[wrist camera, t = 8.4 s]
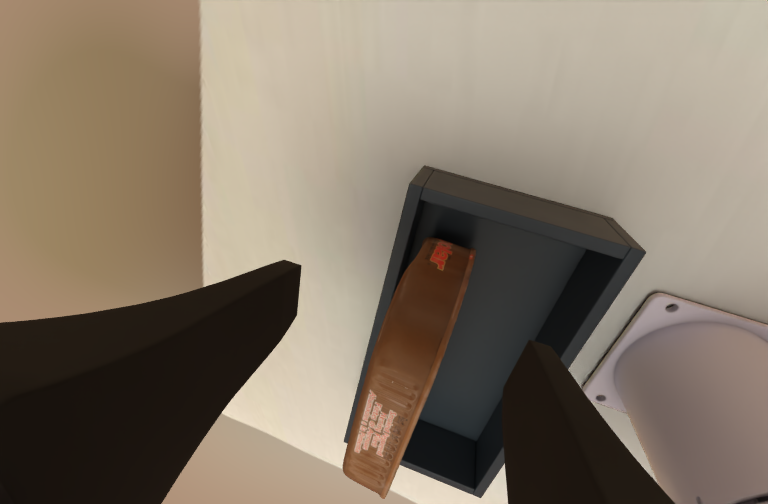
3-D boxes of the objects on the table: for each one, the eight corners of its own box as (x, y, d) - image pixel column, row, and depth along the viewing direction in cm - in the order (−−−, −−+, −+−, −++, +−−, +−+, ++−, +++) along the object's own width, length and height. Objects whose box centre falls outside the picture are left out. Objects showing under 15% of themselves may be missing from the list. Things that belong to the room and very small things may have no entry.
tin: (412, 405, 25) (382, 536, 18) (373, 390, 25) (327, 511, 18) (483, 224, 18) (482, 317, 11) (427, 207, 18) (387, 285, 11)
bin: (613, 218, 17) (647, 252, 13) (481, 442, 25) (481, 498, 22) (424, 165, 18) (409, 183, 14) (361, 396, 27) (343, 441, 23)
